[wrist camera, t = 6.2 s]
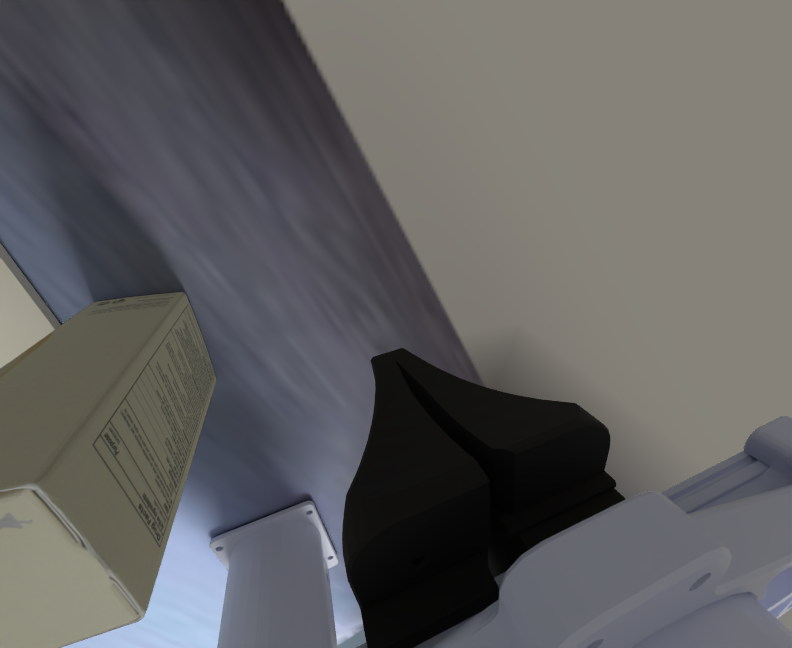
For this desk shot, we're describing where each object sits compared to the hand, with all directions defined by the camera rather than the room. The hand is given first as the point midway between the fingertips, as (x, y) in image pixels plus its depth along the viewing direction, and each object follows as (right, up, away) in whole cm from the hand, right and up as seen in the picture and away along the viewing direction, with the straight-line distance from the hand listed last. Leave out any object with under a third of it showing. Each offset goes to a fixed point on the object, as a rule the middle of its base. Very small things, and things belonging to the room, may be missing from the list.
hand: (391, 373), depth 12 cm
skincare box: (-13, +1, +6) cm, 14 cm away
